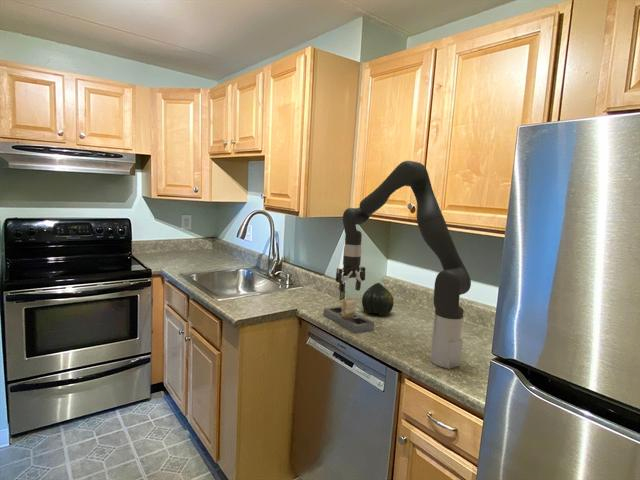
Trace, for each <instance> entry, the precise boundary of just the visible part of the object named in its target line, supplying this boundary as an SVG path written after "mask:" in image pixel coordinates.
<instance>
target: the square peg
mask: <svg viewBox="0 0 640 480" xmlns="http://www.w3.org/2000/svg"><path fill="white" fill-rule="evenodd" d="M341 306H342V314H341V316H342V317H344V318H346V319H347V318H353V317H354V313H356V312H355V311H356V301H355V300H354V299H351V298H343V299H342V304H341Z"/></svg>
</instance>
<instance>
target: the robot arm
mask: <svg viewBox="0 0 640 480" xmlns="http://www.w3.org/2000/svg"><path fill="white" fill-rule="evenodd" d="M403 187H410V189H411V190H412V193H413V195H414V198H415V200H416V223H417V227H418V228H419V232H420V233H421V237H422V239H423V241H424V242H425V243H426V245H427V246H428V247H429V248H430V249H431V251H432V252H433V253H434V254H435V255H436V257H437V258H438V259H439V262H440V264H441V267H442V269H443V270H442V271H439V272H438V273H437V275H436V276H435V277H436V278H435V281H434V289H433V290H434V291H433V305H434V319H433V327H432V336H431V347H430V355H429V360H430V362H431V363H432V364H434V366H435V365H436V366H438V367H441V368H444V369H447V370H450V369H454V368H457V367H460V366H461V359H462V352H463V343H464V339H463V338H461V336H462V327H463V321H464V312H465V311H464V309H463V307H461V306H460V296H461V295H465V294H466V293H468V292H469V291H470V289H471V286H472V280H471V276H470V274H469V272H468V270H467V268H466V267H465V265H464V263H463V261H462V258H461V257H460V255H459V253H458V251H457V248H456V245H455V243H454V241H453V237H452V236H451V233H450V230H449V228H448V225H447V222H446V219H445V217H444V215H443V213H442V210H441V208H440V206H439V203H438V200H437V198H436V196H435V192H434V191H433V186H432V183H431V179H430V175H429V172H428V169H427V167H426V166H425V165H424V164H422V163H421V162H419V161H413V160H404V161H401V162H400V163H399V164H398V165H397V166H396V167H395V168H394V169H393V170H392V171H391V173H390V174H389V175H387V177H386V178H385V179H384V180H383V181H382V183H380V184H379V186H378V187H376V188H375V189H374V190H373V191H372V192H370V193H369V194H367V196H365V198H363V199H362V200H361V201H360V202H359V207H350V208H349V207H348V208H346V209H345V210H344V211H343V213H342V224H343V230H344V234H345V237H344V247H343V257H342V259H343V260H342V265H343V267H342V268H338V267H337V268H336V274H335V282H337V283H338V285H339V286H338V291H339V292H340V293H345V283H346V282H347V281H348V279H352V278H354V279H355V280H356V281H355V289H354V290H355V291H360V290H361V285H362V282H363V281H365V280H366V267H364V266H361V262H362V261H361V259H362V237H363V236H362V232H361V231H360V230H358V229H357V225H358V226H359V225H362V224H364V223H366V222H368V220H369V219H370V217H372V215H373V214H374V213H375V212H377V211H378V210H379V209H381V208H382V207H383V206H385V204H386V203H387V202H388V200H389V198H390V197H391V196H392V194H394V192H397V190H400V189H401V188H403Z"/></svg>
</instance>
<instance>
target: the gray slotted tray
mask: <svg viewBox="0 0 640 480" xmlns="http://www.w3.org/2000/svg"><path fill="white" fill-rule="evenodd" d="M341 314H342V305H341V306H334V307H326V308H323V314H322V315H323V316H324V317H326V318H328V319H330V320H331V321H333V322H335V323H336V324H338V325H340V326H341V327H343V328H344V329H346V330H348V331H350V332H351V333H354V334H359V333H363V332H369V331H374V329H375V322H373V321H372V320H369V319H368V318H365V317H363V316H362V315H360V314H357V313H356V312H354V317H353V318H347V319H346V318H344V317H342V316H341Z"/></svg>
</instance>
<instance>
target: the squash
mask: <svg viewBox="0 0 640 480" xmlns="http://www.w3.org/2000/svg"><path fill="white" fill-rule="evenodd" d="M394 304H395V301H394V296H393V294H392V293H391V292H390V291H389V290H388V288H387V287H385V286H384V285H382V283H380V282H376V283H374V284H373V285H371V286H370V287H368V288H367V289H366V290H365V291H364V293H363V295H362V298H361V305H362V309H363V310H364V311H365V312H366V313H368V314H374V313H375V314H378V315H379V316H380V317H381V316H385V315H387V314H390V313H391V311H392V309H393V307H394Z"/></svg>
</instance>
